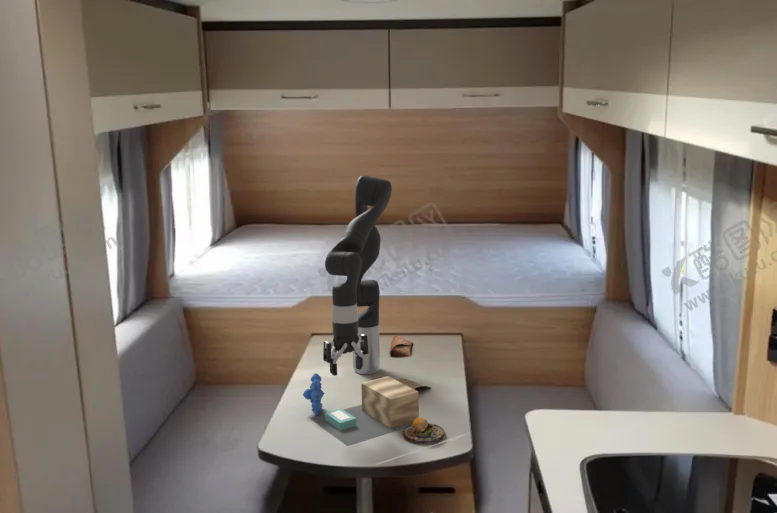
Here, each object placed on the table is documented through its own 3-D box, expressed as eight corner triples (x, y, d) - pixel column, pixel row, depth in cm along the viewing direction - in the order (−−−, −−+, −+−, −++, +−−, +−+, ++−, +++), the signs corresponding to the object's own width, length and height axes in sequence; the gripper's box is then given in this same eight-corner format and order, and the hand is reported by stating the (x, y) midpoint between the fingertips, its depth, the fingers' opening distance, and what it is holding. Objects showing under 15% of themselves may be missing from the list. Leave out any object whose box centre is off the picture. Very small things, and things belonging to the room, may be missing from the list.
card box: (325, 420, 208) (324, 412, 208) (340, 415, 211) (340, 408, 211) (340, 430, 201) (340, 422, 200) (356, 425, 204) (356, 418, 204)
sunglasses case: (412, 357, 264) (403, 342, 263) (396, 365, 265) (387, 351, 264) (413, 342, 282) (404, 328, 281) (398, 350, 283) (390, 337, 282)
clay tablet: (403, 403, 222) (402, 394, 221) (376, 394, 229) (376, 386, 229) (434, 389, 234) (434, 380, 233) (408, 381, 241) (408, 373, 241)
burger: (450, 443, 193) (450, 418, 192) (410, 449, 190) (410, 424, 189) (435, 425, 205) (435, 401, 203) (397, 431, 201) (397, 407, 200)
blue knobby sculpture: (303, 405, 220) (302, 369, 218) (324, 404, 221) (323, 368, 219) (302, 420, 209) (301, 382, 207) (325, 419, 210) (324, 381, 208)
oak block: (362, 410, 215) (361, 383, 213) (388, 403, 220) (388, 376, 219) (391, 428, 202) (390, 399, 200) (418, 420, 207) (418, 391, 206)
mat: (310, 419, 209) (310, 418, 209) (381, 399, 224) (381, 399, 224) (347, 446, 192) (347, 445, 191) (422, 423, 206) (422, 422, 206)
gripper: (358, 312, 210) (359, 364, 213) (317, 320, 202) (319, 373, 205) (372, 317, 204) (373, 370, 207) (330, 325, 196) (332, 380, 199)
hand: (346, 372), depth 206 cm, fingers open, 8 cm apart
